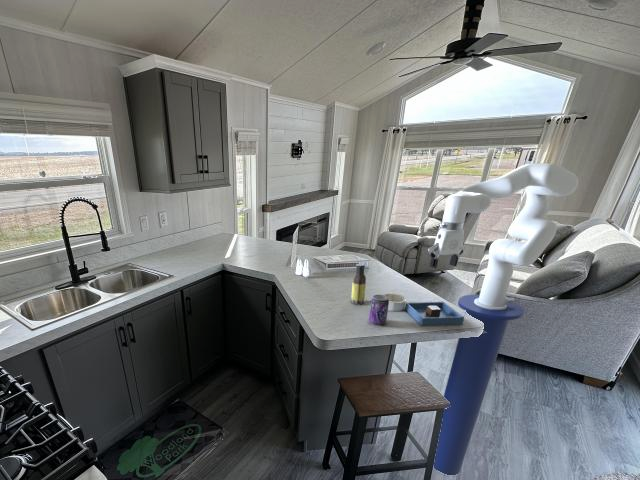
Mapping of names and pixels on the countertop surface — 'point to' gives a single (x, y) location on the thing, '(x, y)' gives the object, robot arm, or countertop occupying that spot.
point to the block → (433, 311)
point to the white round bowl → (396, 302)
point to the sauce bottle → (358, 285)
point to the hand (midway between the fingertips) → (442, 266)
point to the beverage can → (379, 309)
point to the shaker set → (304, 269)
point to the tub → (445, 318)
